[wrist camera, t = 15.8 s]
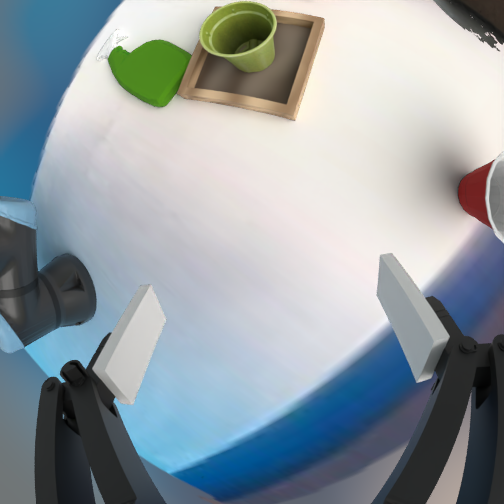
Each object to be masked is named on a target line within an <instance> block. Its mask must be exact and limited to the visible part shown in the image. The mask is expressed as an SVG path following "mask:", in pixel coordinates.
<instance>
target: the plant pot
mask: <svg viewBox="0 0 504 504" xmlns="http://www.w3.org/2000/svg"><path fill="white" fill-rule="evenodd" d="M276 27H277V21H276V17H275V15H274V13H273V12H272V10H271V9H269V8H268V7H267V6H265V5H263V4H260V3H257V2H251V1H240V2H234V3H230V4H228V5H225V6H223V7H221V8H219V9H217V10H216V11H214V12H213V13H212V14H211V15H209V16H208V17H207V19H206V20H205V21H204V23H203V24H202V26H201V29H200V33H199V38H200V42H201V45H202V46H203V47H204V49H205V50H207V51H208V52H209V53H211V54H213V55H216V56H220V57H224V58H225V59H227V60H228V61H229V62H231V63H232V64H233V65H234V66H236V67H237V68H238V69H240V70H241V71H244V72H248V73H249V72H258V71H262V70H264V69H266V68H267V67H268V66H270V65H271V63H272V62H273V60H274V57H275V49H274V40H273V35H274V33H275V31H276ZM243 46H246V47H245V48H244V49H243V50H242V51H241V52H240V51H239V50H240V49H241V48H242V47H243Z"/></svg>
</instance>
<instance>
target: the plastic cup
mask: <svg viewBox="0 0 504 504" xmlns="http://www.w3.org/2000/svg"><path fill="white" fill-rule="evenodd" d="M458 197H459V201H460V204H461V206H462V207H463V209H464V210H465V211H466V212H467V213H469V214H470V215H471V216H473V217H475V218H477V219H478V220H479V221H481V222H482V223H484V224H486V225H487V226H489V227H490V228H492V229H493V230H494V233H495V235H496V236H497V237H498V238H499V239H500V240H501V241H502V242H503V243H504V151H503V152H502V153H501V154H500V155H499V156H498V157H497V158H496V159H495V160H493V161H492V162H490V163H488V164H486V165H484V166H482V167H480V168H478V169H476V170H474V171H473V172H472V173H470V174H467V175H466V176H465V177H464V178H463V179H462V180H461V182H460V185H459V188H458Z"/></svg>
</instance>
